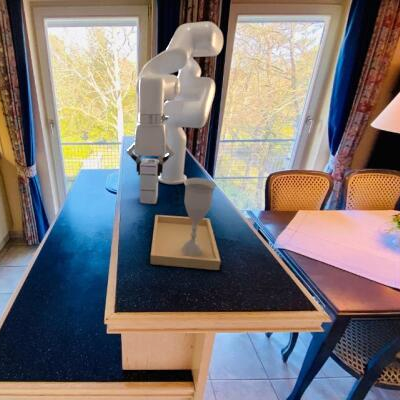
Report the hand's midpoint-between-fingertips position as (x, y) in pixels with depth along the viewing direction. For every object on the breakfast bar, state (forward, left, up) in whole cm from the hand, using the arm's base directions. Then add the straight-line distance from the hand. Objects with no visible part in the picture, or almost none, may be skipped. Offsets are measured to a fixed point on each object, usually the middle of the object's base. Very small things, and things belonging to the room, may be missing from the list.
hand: (149, 173), depth 89 cm
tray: (+25, +11, -10) cm, 29 cm away
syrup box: (0, 0, -10) cm, 10 cm away
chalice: (+29, +13, -10) cm, 33 cm away
